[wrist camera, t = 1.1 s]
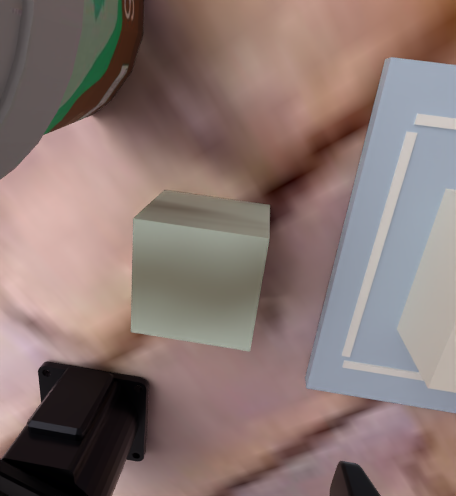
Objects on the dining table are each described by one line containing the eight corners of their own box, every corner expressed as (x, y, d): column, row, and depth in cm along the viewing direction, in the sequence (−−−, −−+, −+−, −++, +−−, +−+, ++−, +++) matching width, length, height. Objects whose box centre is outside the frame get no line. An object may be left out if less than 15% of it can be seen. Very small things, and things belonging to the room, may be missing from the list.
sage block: (254, 296, 20) (250, 351, 16) (159, 282, 20) (130, 331, 16) (269, 204, 18) (269, 238, 14) (165, 189, 18) (133, 218, 14)
